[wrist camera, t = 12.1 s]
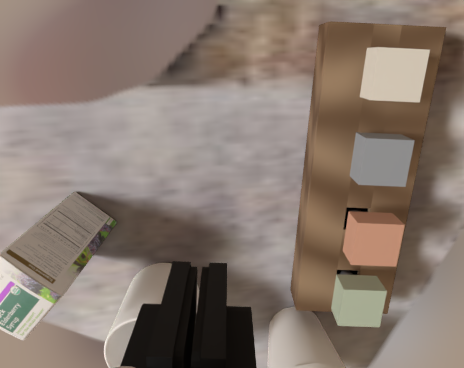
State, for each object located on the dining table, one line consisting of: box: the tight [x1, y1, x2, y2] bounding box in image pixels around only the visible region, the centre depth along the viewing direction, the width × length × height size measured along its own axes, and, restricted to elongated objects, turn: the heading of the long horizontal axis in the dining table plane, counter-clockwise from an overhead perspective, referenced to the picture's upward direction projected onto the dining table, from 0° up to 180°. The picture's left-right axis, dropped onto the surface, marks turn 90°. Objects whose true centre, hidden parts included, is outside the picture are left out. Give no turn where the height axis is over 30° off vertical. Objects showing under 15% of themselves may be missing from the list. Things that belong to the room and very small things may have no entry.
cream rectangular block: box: [360, 47, 430, 103], centre depth 33 cm, size 4×4×7 cm
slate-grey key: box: [350, 132, 415, 187], centre depth 35 cm, size 4×4×7 cm
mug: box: [104, 263, 199, 368], centre depth 41 cm, size 12×8×10 cm
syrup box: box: [0, 192, 117, 340], centre depth 36 cm, size 6×6×14 cm
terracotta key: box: [343, 208, 405, 267], centre depth 36 cm, size 4×4×7 cm
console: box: [291, 22, 446, 314], centre depth 39 cm, size 29×10×4 cm, turn 177°
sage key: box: [331, 270, 387, 327], centre depth 39 cm, size 4×4×7 cm
